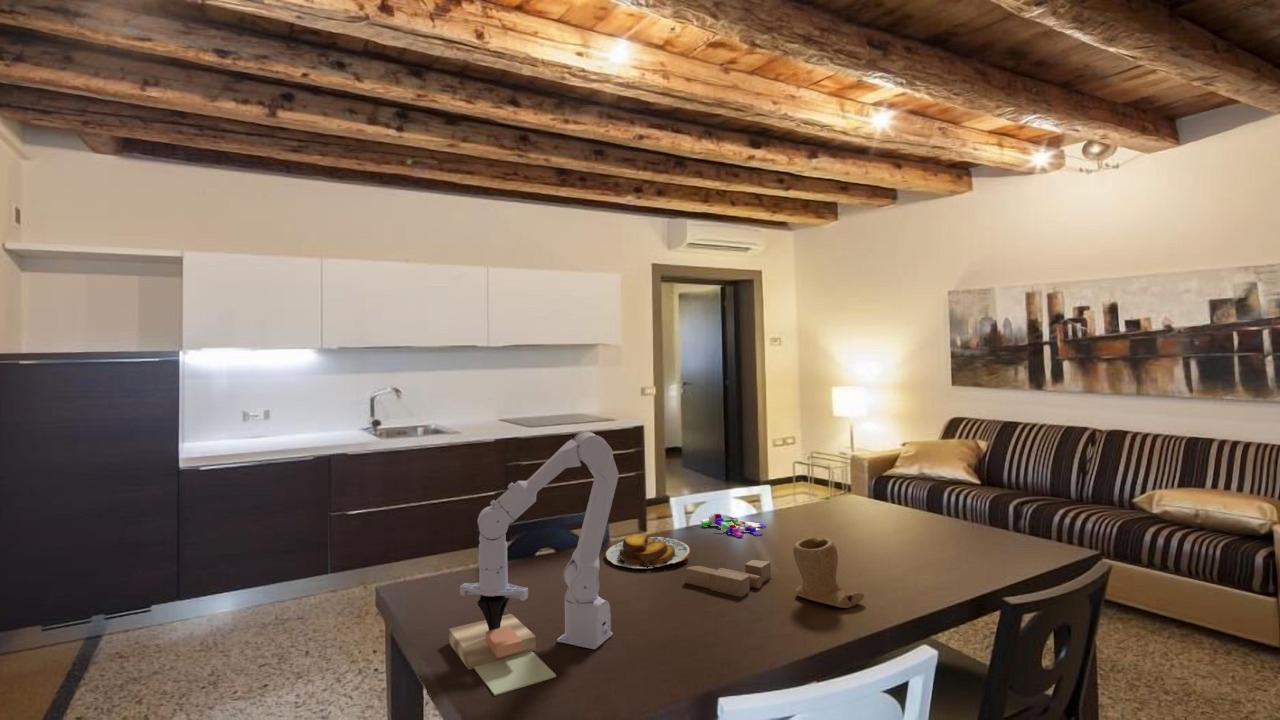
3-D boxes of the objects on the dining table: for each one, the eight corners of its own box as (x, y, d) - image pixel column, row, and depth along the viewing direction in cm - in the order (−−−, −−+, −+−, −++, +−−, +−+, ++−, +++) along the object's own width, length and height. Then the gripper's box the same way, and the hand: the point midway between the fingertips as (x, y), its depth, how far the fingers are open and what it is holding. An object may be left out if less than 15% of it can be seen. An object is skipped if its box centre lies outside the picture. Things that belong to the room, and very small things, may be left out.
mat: (474, 668, 123) (474, 667, 122) (531, 652, 129) (531, 650, 129) (494, 695, 112) (494, 694, 112) (556, 676, 119) (556, 675, 119)
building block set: (779, 534, 213) (779, 521, 213) (726, 541, 206) (726, 528, 206) (742, 517, 236) (741, 505, 236) (693, 523, 229) (692, 511, 229)
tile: (485, 641, 128) (485, 631, 128) (509, 635, 130) (509, 625, 130) (497, 657, 121) (497, 647, 121) (522, 651, 123) (522, 640, 123)
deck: (449, 642, 134) (448, 628, 134) (511, 627, 141) (511, 613, 141) (468, 669, 122) (468, 654, 122) (536, 650, 129) (535, 636, 129)
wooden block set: (744, 577, 156) (683, 564, 167) (744, 600, 156) (684, 585, 167) (774, 559, 169) (716, 548, 180) (774, 580, 169) (716, 567, 180)
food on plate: (706, 563, 184) (705, 541, 183) (631, 579, 172) (630, 555, 172) (661, 541, 206) (661, 521, 206) (592, 554, 194) (592, 533, 194)
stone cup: (783, 599, 155) (782, 538, 155) (812, 587, 162) (811, 529, 162) (838, 617, 143) (837, 552, 143) (866, 604, 151) (864, 541, 151)
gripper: (533, 561, 132) (534, 626, 132) (471, 557, 136) (472, 620, 136) (519, 572, 125) (520, 640, 125) (454, 568, 129) (455, 634, 129)
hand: (494, 631), depth 130 cm, fingers closed
